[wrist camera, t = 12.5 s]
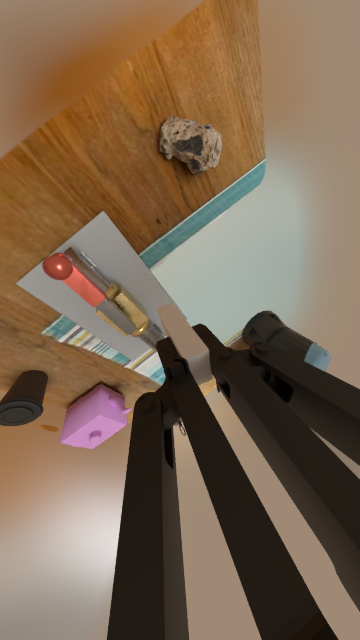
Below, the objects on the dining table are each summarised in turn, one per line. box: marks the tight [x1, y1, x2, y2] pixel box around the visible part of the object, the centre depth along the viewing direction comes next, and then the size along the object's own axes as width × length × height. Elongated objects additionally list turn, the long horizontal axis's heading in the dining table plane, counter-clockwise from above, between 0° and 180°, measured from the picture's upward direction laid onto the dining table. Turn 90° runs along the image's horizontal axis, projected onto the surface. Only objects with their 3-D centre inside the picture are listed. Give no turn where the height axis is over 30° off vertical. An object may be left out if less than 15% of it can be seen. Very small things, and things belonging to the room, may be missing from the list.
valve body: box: [64, 247, 165, 352], centre depth 34 cm, size 6×28×6 cm, turn 32°
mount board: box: [16, 211, 187, 361], centre depth 37 cm, size 20×30×2 cm, turn 32°
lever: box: [42, 252, 137, 335], centre depth 26 cm, size 16×3×5 cm, turn 30°
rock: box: [160, 116, 222, 175], centre depth 26 cm, size 9×7×10 cm
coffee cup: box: [0, 370, 48, 426], centre depth 35 cm, size 8×8×10 cm
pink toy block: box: [60, 384, 132, 449], centre depth 45 cm, size 20×10×12 cm, turn 119°
